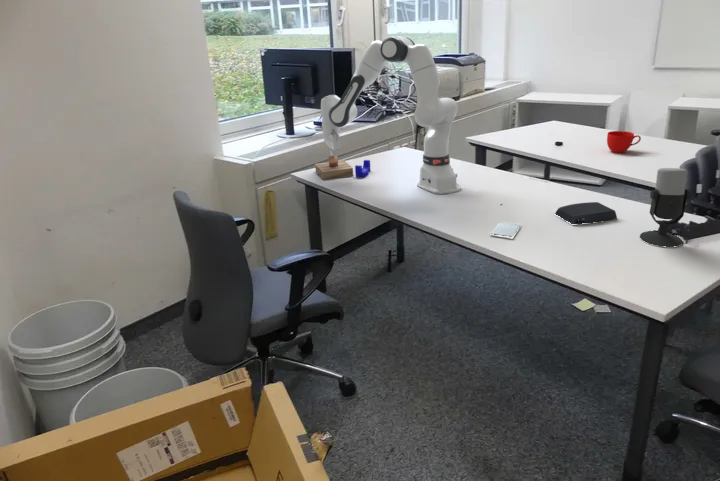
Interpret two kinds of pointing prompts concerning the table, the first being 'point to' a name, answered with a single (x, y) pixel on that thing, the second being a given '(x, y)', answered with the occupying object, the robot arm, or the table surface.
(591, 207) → the external hard drive
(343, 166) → the board
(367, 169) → the cable clip
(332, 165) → the peg
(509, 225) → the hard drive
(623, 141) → the ceramic cup
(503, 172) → the table surface
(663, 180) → the microphone
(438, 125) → the robot arm
